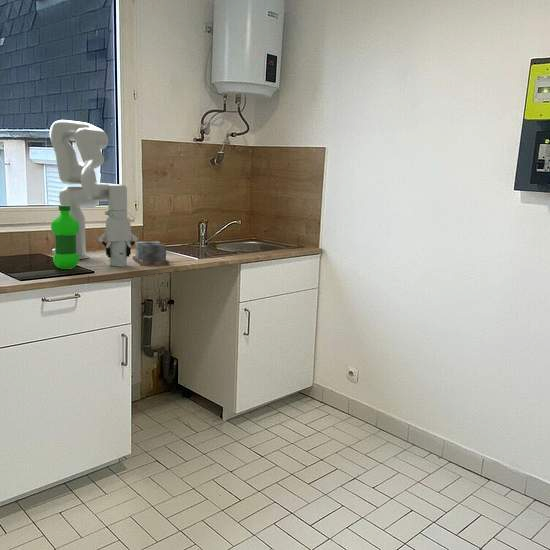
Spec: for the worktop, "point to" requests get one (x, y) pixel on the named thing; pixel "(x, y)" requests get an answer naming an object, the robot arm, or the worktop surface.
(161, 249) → the grey lidded container
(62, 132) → the robot arm
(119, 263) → the skincare box
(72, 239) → the plastic bottle
